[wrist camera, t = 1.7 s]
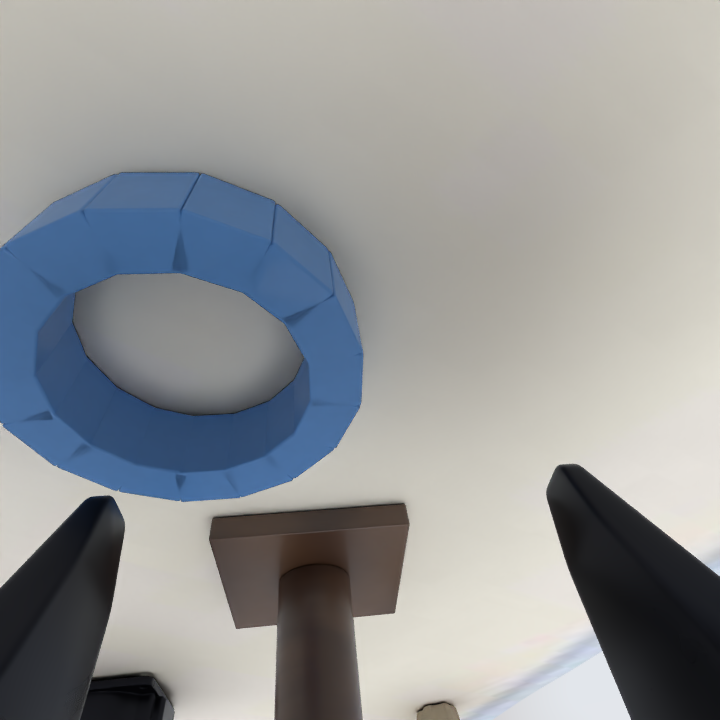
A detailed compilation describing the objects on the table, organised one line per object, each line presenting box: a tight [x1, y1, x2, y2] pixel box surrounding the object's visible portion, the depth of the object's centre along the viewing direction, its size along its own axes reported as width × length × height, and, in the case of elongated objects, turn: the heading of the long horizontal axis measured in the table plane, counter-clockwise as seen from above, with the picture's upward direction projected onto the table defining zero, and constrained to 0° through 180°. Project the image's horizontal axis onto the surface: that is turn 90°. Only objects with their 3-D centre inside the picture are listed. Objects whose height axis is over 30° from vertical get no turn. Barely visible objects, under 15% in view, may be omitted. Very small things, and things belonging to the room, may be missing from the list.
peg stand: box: [209, 504, 409, 720], centre depth 19 cm, size 8×8×7 cm
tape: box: [0, 172, 363, 502], centre depth 13 cm, size 9×9×2 cm
